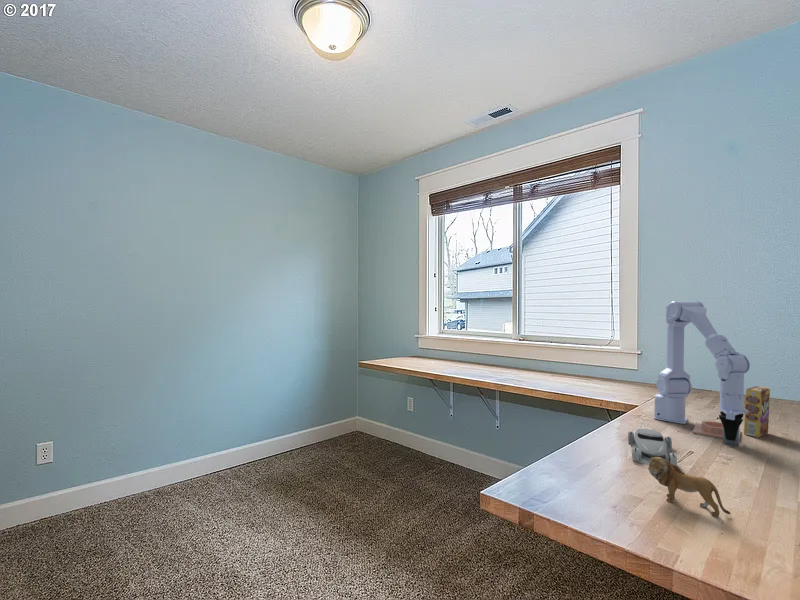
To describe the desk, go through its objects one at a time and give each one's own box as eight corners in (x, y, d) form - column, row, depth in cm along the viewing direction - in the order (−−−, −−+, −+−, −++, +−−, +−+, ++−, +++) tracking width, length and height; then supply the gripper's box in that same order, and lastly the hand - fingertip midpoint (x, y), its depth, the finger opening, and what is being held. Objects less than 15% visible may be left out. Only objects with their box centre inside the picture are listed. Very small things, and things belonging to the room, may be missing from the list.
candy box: (760, 438, 132) (761, 391, 132) (743, 434, 136) (744, 388, 136) (769, 433, 137) (770, 387, 137) (753, 430, 141) (754, 385, 141)
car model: (630, 463, 113) (631, 445, 112) (627, 436, 134) (627, 421, 134) (679, 471, 108) (679, 452, 107) (668, 442, 129) (668, 426, 129)
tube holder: (692, 432, 137) (692, 425, 137) (696, 424, 146) (696, 417, 146) (739, 441, 129) (739, 433, 129) (740, 432, 139) (740, 424, 139)
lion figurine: (646, 498, 92) (646, 458, 92) (649, 490, 96) (650, 451, 96) (730, 521, 83) (731, 477, 83) (730, 511, 87) (731, 468, 87)
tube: (722, 444, 127) (722, 421, 127) (722, 441, 130) (723, 418, 130) (739, 447, 124) (739, 424, 124) (739, 444, 127) (739, 421, 127)
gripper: (748, 400, 119) (747, 447, 119) (748, 391, 130) (748, 435, 130) (717, 396, 123) (716, 441, 123) (720, 388, 134) (719, 430, 134)
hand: (730, 438), depth 127 cm, fingers closed on tube, 4 cm apart
